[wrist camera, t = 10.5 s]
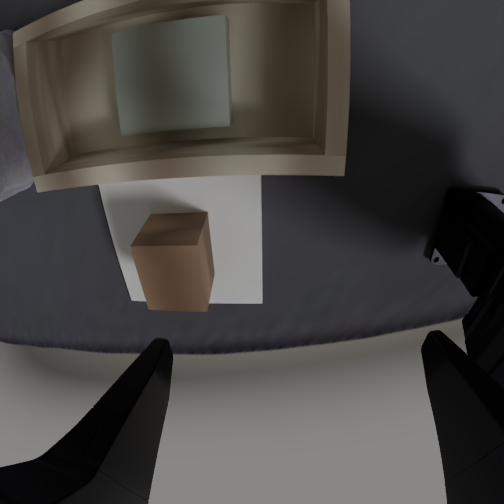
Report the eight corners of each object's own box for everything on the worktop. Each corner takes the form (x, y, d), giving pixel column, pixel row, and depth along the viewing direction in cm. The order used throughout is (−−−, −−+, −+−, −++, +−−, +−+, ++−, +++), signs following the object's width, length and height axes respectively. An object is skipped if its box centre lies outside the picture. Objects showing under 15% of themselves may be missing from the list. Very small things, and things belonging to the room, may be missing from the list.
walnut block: (207, 212, 20) (196, 245, 17) (214, 273, 23) (207, 311, 20) (150, 214, 20) (130, 246, 17) (163, 273, 23) (148, 309, 20)
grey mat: (260, 165, 19) (260, 167, 18) (262, 301, 25) (262, 303, 24) (98, 176, 19) (97, 177, 19) (132, 298, 25) (131, 300, 25)
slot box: (328, -7, 12) (348, -27, 8) (326, 151, 18) (344, 176, 14) (56, 32, 13) (12, 33, 9) (73, 166, 18) (37, 192, 15)
